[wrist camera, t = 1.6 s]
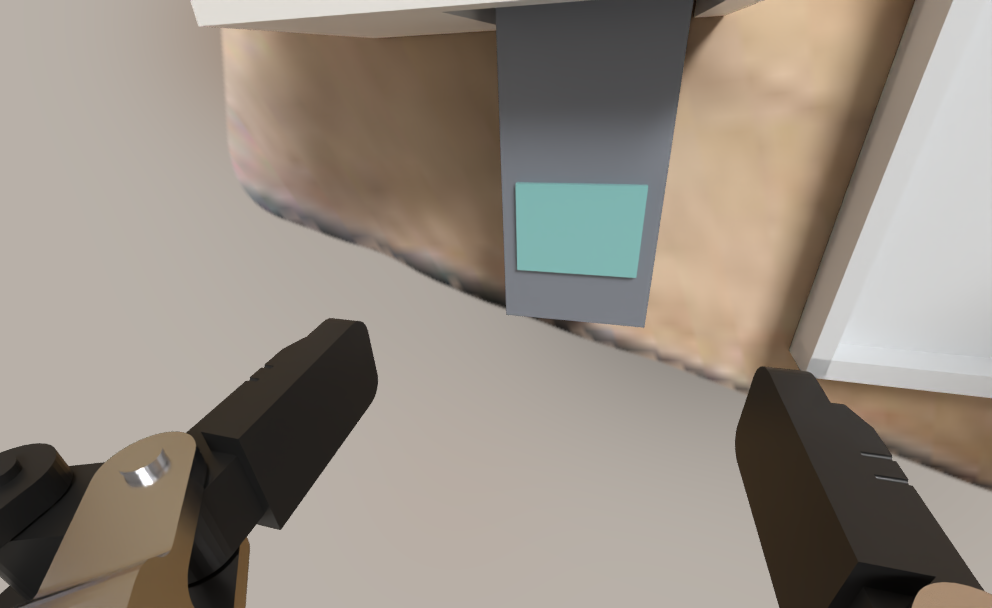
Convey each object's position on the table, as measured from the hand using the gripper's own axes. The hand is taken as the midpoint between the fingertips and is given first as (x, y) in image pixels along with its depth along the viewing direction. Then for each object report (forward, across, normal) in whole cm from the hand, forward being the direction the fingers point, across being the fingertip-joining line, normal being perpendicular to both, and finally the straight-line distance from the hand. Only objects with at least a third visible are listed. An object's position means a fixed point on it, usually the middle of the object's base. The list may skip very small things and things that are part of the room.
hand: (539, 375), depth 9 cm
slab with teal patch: (+12, 0, -4) cm, 13 cm away
